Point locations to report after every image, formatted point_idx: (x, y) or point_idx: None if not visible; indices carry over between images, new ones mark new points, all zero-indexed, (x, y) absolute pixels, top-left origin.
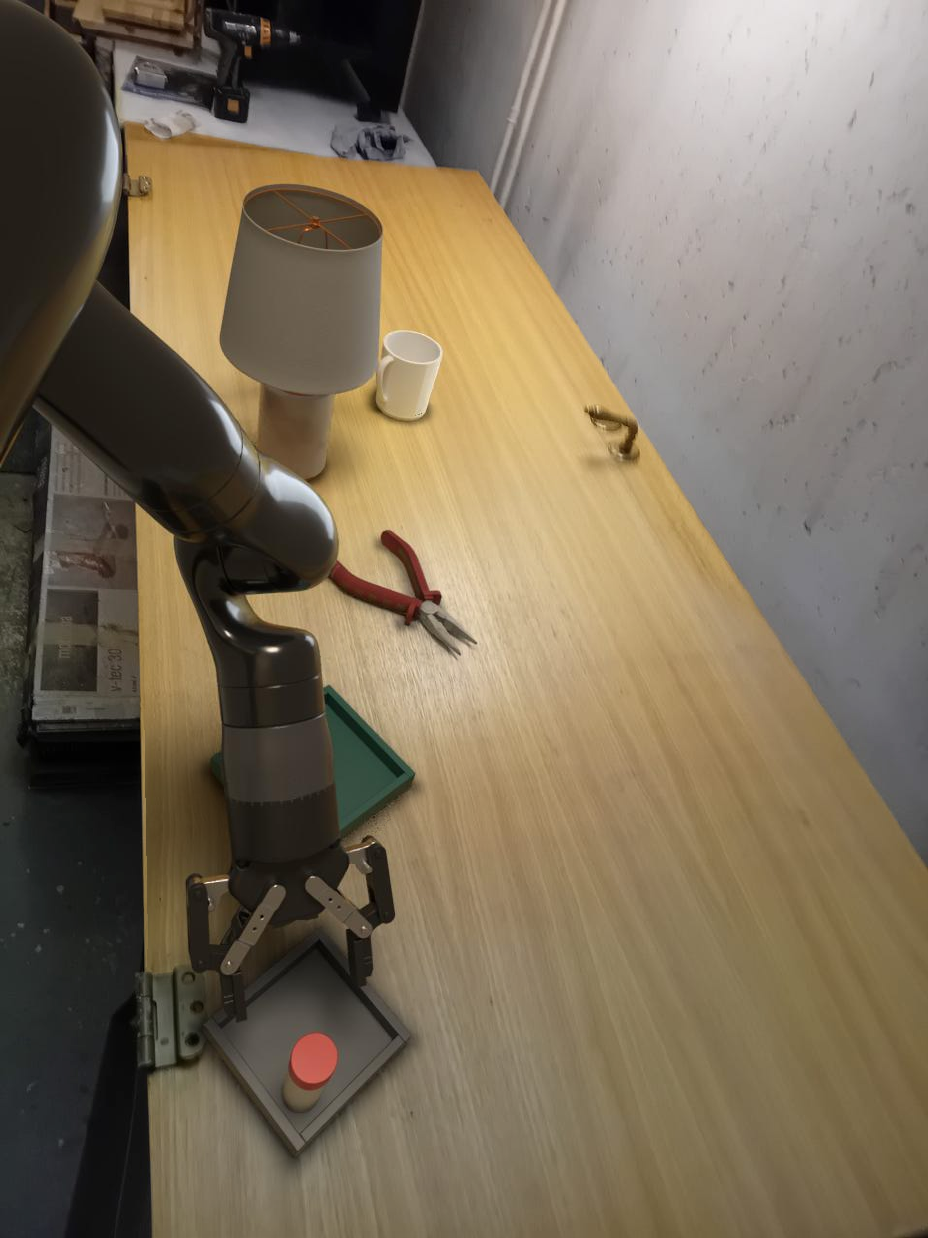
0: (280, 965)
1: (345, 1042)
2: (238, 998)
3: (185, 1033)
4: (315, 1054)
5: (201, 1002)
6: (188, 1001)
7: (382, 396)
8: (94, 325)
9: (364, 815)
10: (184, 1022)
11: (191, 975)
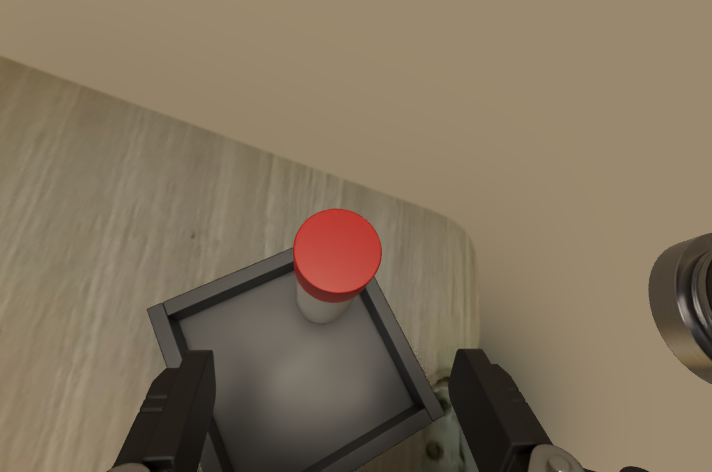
0: None
1: (247, 339)
2: (497, 387)
3: (450, 416)
4: (335, 254)
5: (428, 456)
6: (445, 462)
7: None
8: None
9: None
10: (451, 432)
11: None
